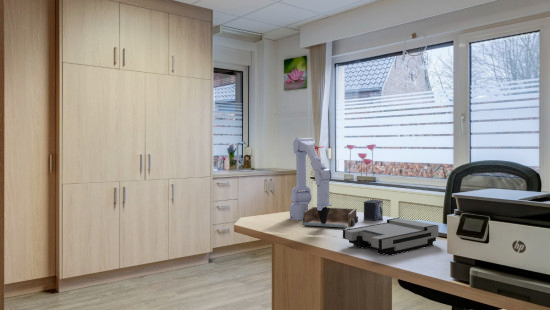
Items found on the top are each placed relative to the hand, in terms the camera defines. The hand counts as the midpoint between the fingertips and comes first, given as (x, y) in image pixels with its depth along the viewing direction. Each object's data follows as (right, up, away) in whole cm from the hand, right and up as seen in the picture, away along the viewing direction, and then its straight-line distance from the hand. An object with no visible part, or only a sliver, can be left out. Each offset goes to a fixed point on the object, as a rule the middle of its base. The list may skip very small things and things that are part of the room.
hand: (323, 223), depth 201 cm
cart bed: (+5, -3, +13) cm, 14 cm away
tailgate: (+2, -2, +6) cm, 6 cm away
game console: (+23, -5, -31) cm, 39 cm away
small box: (+28, -2, +20) cm, 35 cm away
